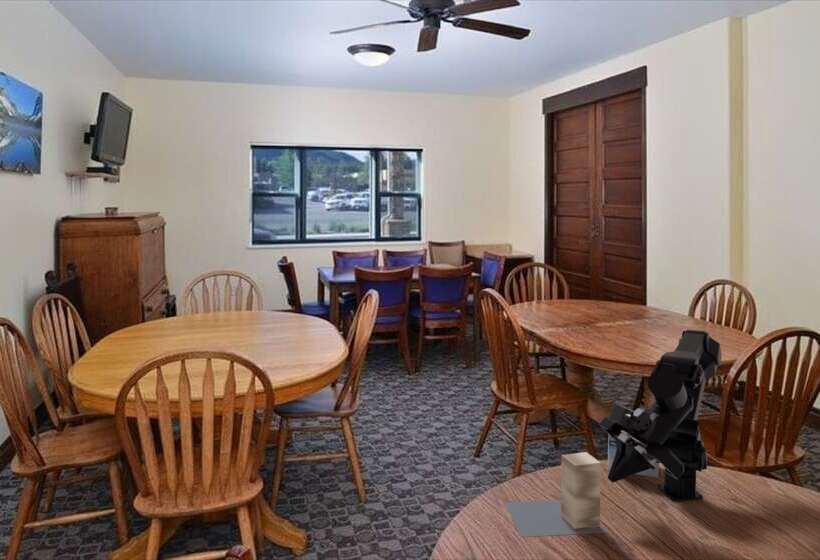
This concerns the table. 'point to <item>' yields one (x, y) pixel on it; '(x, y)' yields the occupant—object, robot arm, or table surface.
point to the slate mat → (543, 519)
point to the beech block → (580, 490)
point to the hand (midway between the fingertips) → (610, 480)
